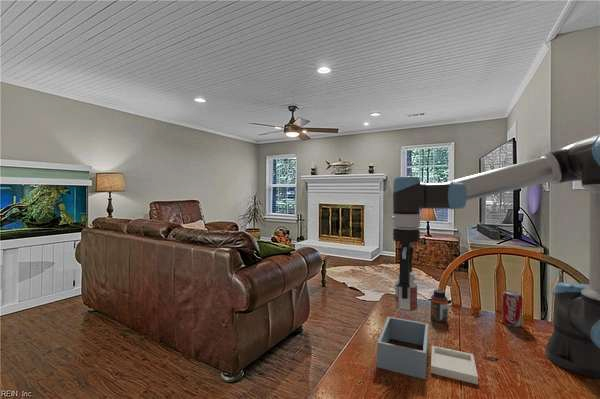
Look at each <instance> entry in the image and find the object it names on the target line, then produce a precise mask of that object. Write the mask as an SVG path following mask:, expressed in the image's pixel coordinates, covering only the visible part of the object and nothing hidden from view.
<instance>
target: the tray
mask: <svg viewBox="0 0 600 399" xmlns="http://www.w3.org/2000/svg"><path fill="white" fill-rule="evenodd" d="M430 357H431V359H430V360H431V361H430V373H431V374H434V375H437V376H442V377H447V378H449V379H453V380H458V381H461V382H462V381H463V382H466V383H470V384H474V385H479V375H478V371H477V366H476V362H475V357H474V354H473V353H470V352H469V353H468V352H464V351H459V350H456V349H449V348H446V347H441V346H435V345H431V356H430Z"/></svg>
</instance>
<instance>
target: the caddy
mask: <svg viewBox="0 0 600 399" xmlns="http://www.w3.org/2000/svg"><path fill="white" fill-rule="evenodd" d="M390 340H396V341H399V342H405V343H409V344H415V345H418V346H422V348H423V349H422V350H420V349H416V348H411V347H406V346H403V345H402V346H401V345H397V344H393V343H389V342H390ZM376 343H377V344H376V368H379V369H383V370H387V371H391V372H395V373H398V374H403V375H406V376H409V377H414V378H418V379H422V380H424V381H425V380H426V377H427V366H428V365H427V364H428V350H429V323H424V322H421V321H413V320H409V319H403V318H398V317H394V316H393V317H392V316H387V318H386V320H385V323H384V325H383V328H382V330H381V332H380V335H379V337H378V339H377V342H376Z"/></svg>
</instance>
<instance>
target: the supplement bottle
mask: <svg viewBox="0 0 600 399" xmlns="http://www.w3.org/2000/svg"><path fill="white" fill-rule="evenodd" d="M448 299H449V298H448V297H447V296H446V291H445V290H442V289H434V290H433V294H432V295H431V296H430V319H431V320H432V321H434V322H437V323H446V322H448V307H449V306H448V304H449V303H448V302H449V300H448Z"/></svg>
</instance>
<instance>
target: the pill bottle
mask: <svg viewBox="0 0 600 399" xmlns="http://www.w3.org/2000/svg"><path fill="white" fill-rule="evenodd" d="M399 277H400V271H398V272H397V279H396V280H395V281H394V283H395V284H394V286H395V287H394V288H395V291H394V292H395V298H394V300H395V309H396V310H397V311H398V312H401V313H407V314H412V313H413V314H414V313H416V312H417V311H418V283H417V281H416V280H415V273H414V272H413V271H412V272H410V281H409V284H410V310H406V309H400V287H399V286H397V284H399ZM413 279H414V280H413Z"/></svg>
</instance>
